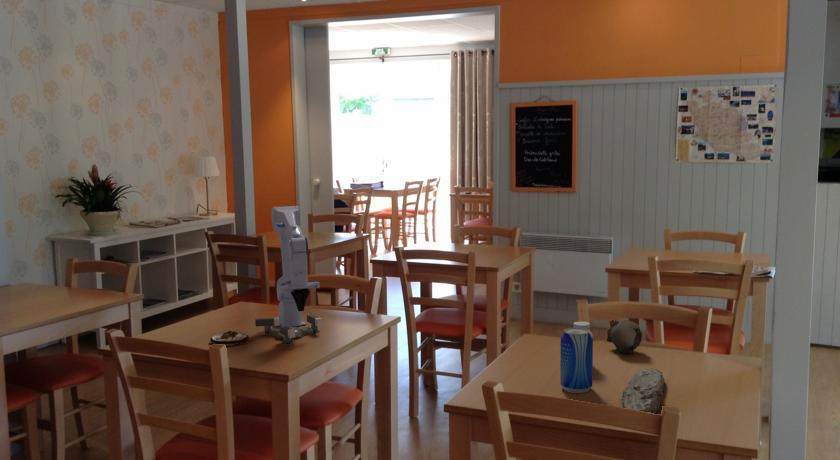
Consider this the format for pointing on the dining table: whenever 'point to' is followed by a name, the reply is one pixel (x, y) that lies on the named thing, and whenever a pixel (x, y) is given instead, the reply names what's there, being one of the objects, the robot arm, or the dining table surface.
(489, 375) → the dining table surface
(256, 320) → the footscrew rear
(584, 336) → the beer can
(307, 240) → the robot arm
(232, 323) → the dining table surface
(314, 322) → the post
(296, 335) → the levelling base
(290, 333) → the two-tone rectangular bar
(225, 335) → the cream topped cake
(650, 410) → the elongated rock
